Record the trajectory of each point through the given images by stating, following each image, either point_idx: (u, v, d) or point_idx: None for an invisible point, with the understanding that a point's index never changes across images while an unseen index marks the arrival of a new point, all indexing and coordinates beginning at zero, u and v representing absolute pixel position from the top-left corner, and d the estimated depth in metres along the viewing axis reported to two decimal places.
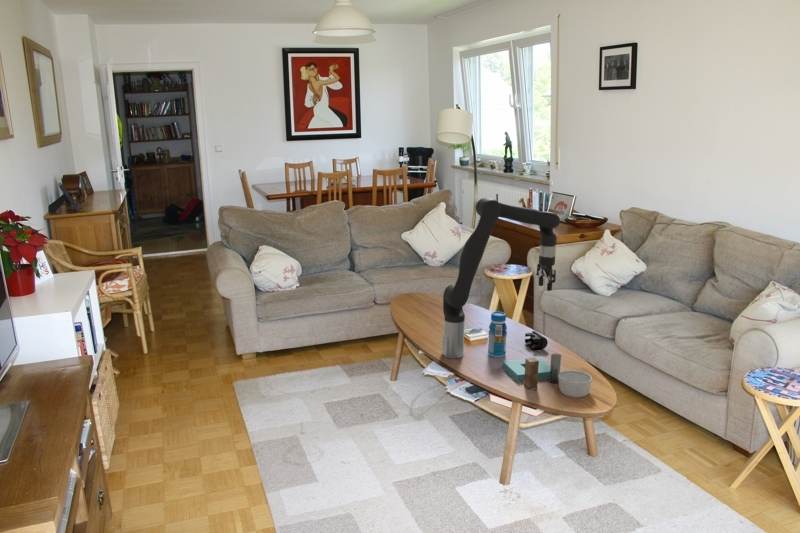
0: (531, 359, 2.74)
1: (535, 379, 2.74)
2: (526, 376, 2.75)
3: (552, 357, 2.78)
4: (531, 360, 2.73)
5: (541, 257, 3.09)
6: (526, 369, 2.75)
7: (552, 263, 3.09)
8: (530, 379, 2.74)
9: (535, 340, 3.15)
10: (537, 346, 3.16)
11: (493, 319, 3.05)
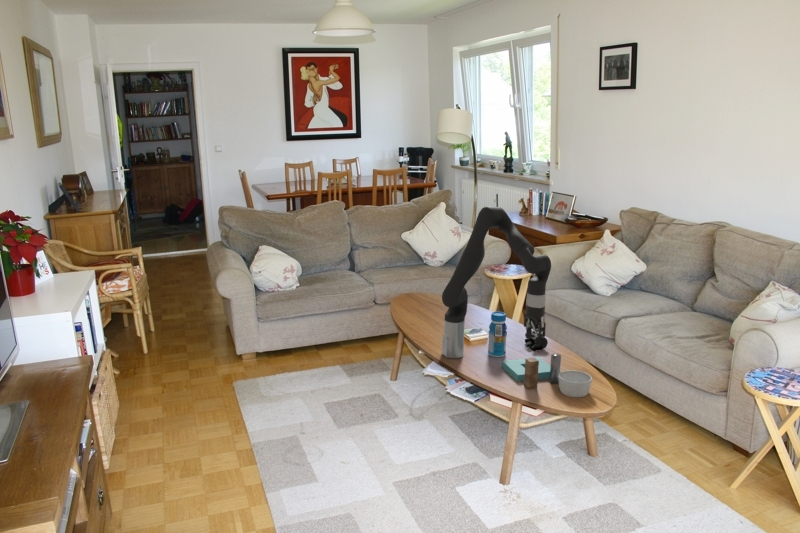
0: (531, 359, 2.74)
1: (535, 379, 2.74)
2: (526, 376, 2.75)
3: (552, 357, 2.78)
4: (531, 360, 2.73)
5: (528, 307, 2.66)
6: (526, 369, 2.75)
7: (541, 314, 2.66)
8: (530, 379, 2.74)
9: (535, 340, 3.15)
10: (537, 346, 3.16)
11: (493, 319, 3.05)
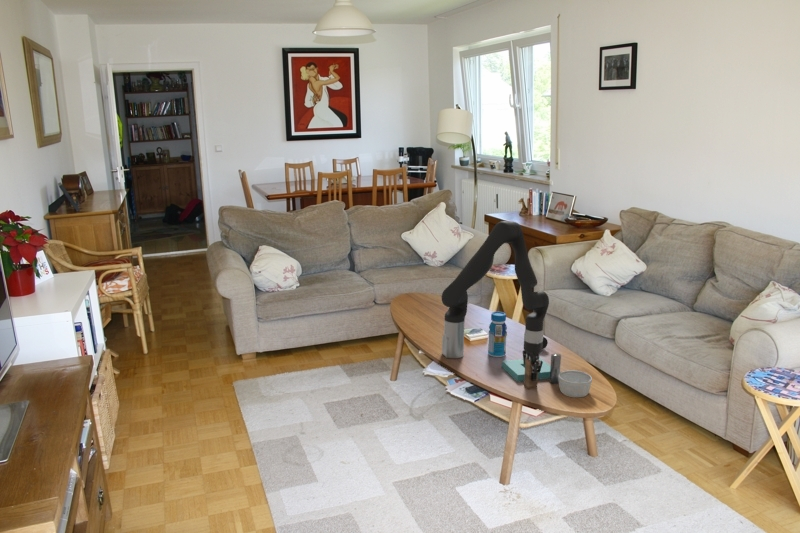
0: None
1: None
2: (526, 376, 2.75)
3: (552, 357, 2.78)
4: None
5: (526, 343, 2.70)
6: (526, 369, 2.75)
7: (539, 350, 2.70)
8: (530, 379, 2.74)
9: None
10: None
11: (493, 319, 3.05)
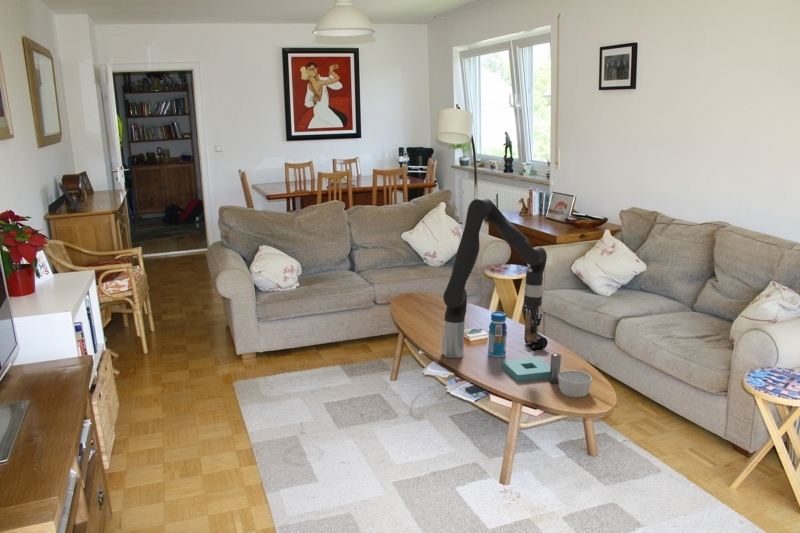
0: None
1: None
2: (526, 330, 2.87)
3: (552, 357, 2.78)
4: None
5: (526, 297, 2.81)
6: (526, 323, 2.86)
7: (538, 303, 2.81)
8: (530, 332, 2.85)
9: None
10: (537, 346, 3.16)
11: (493, 319, 3.05)
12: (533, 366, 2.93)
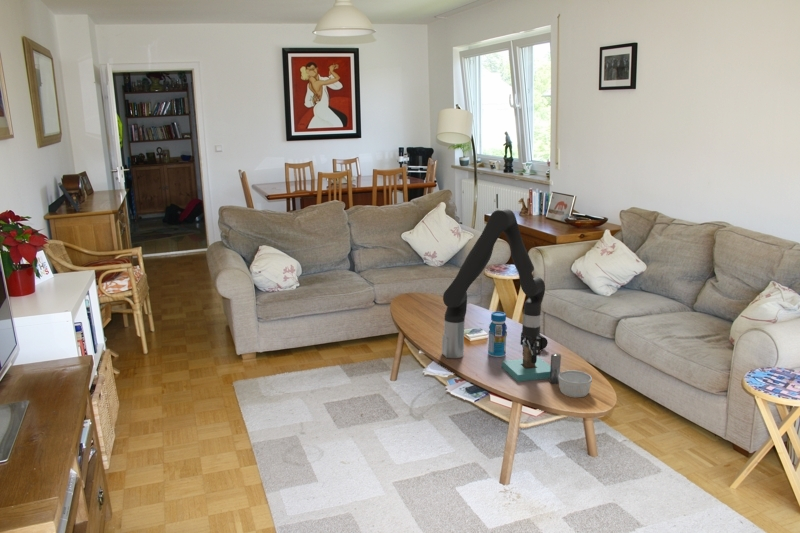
0: None
1: (533, 365, 2.89)
2: (524, 362, 2.90)
3: (552, 357, 2.78)
4: (528, 346, 2.88)
5: (525, 327, 2.84)
6: (524, 355, 2.90)
7: (537, 333, 2.84)
8: (528, 365, 2.89)
9: None
10: None
11: (493, 319, 3.05)
12: None
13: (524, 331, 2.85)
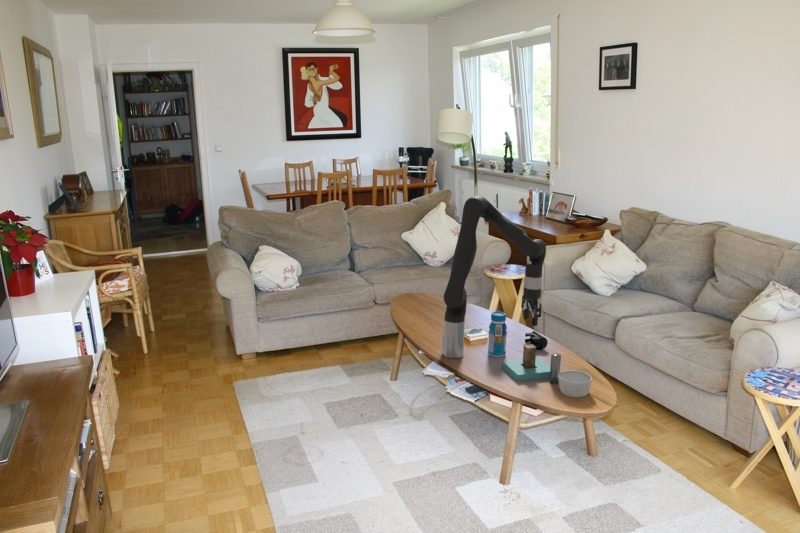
0: (529, 346, 2.89)
1: (533, 365, 2.89)
2: (524, 362, 2.90)
3: (552, 357, 2.78)
4: (528, 346, 2.88)
5: (526, 289, 2.82)
6: (524, 355, 2.90)
7: (538, 296, 2.81)
8: (528, 365, 2.88)
9: (535, 340, 3.15)
10: (537, 346, 3.16)
11: (493, 319, 3.05)
12: None
13: (525, 293, 2.82)
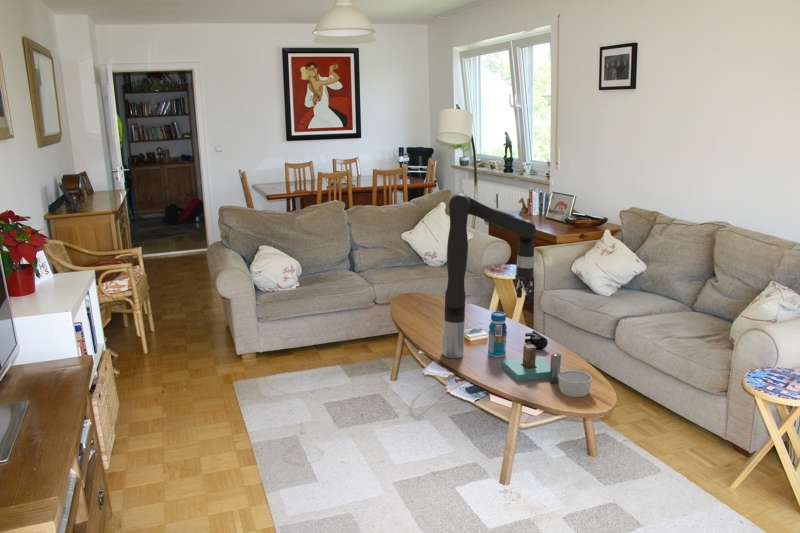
0: (529, 346, 2.89)
1: (533, 365, 2.89)
2: (524, 362, 2.90)
3: (552, 357, 2.78)
4: (528, 346, 2.88)
5: (519, 268, 2.94)
6: (524, 355, 2.90)
7: (530, 274, 2.93)
8: (528, 365, 2.88)
9: (535, 340, 3.15)
10: (537, 346, 3.16)
11: (493, 319, 3.05)
12: None
13: (518, 272, 2.94)
